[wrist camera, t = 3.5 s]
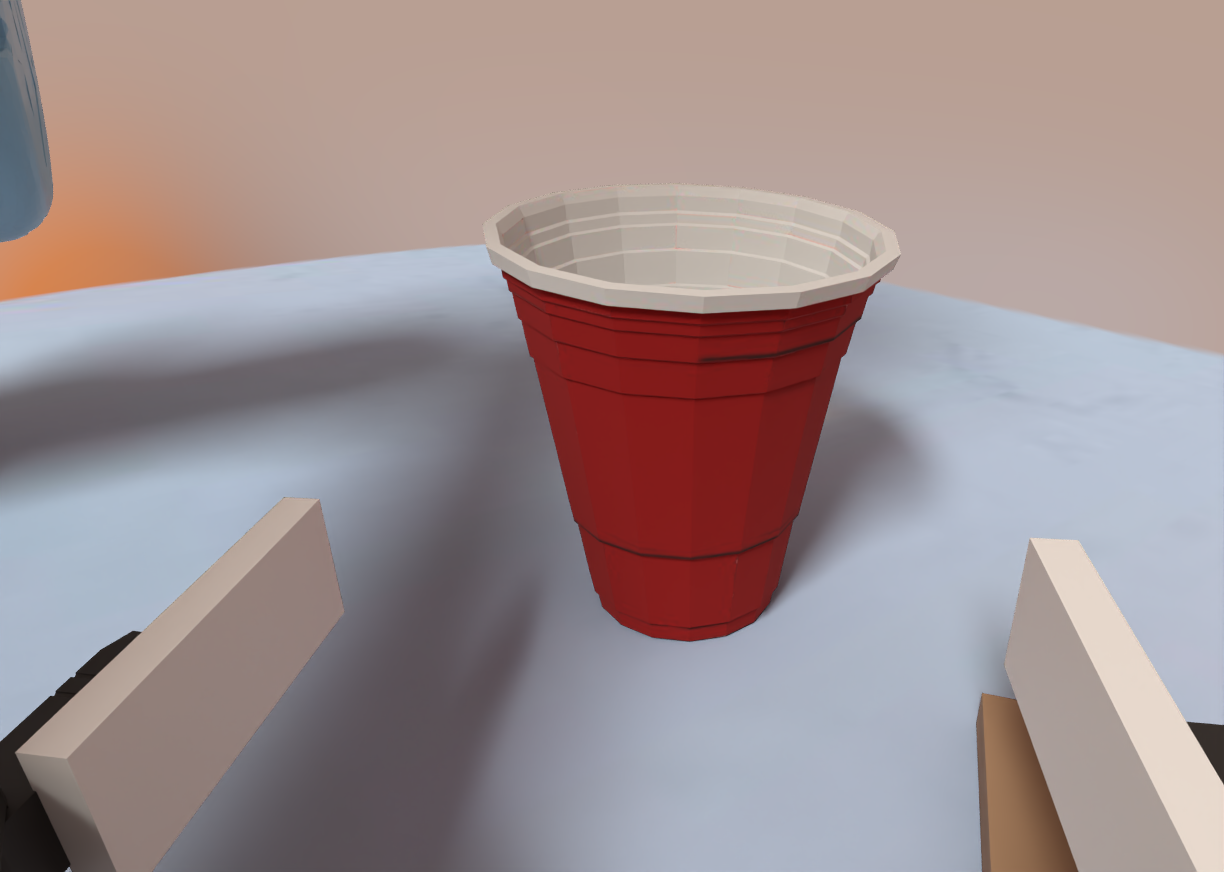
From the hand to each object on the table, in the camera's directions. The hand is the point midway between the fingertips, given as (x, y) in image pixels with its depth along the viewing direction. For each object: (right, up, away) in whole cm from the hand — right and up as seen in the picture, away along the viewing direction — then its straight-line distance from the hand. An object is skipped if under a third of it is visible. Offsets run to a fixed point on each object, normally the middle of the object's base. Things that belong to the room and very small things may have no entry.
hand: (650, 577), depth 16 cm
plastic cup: (+2, -2, +11) cm, 12 cm away
